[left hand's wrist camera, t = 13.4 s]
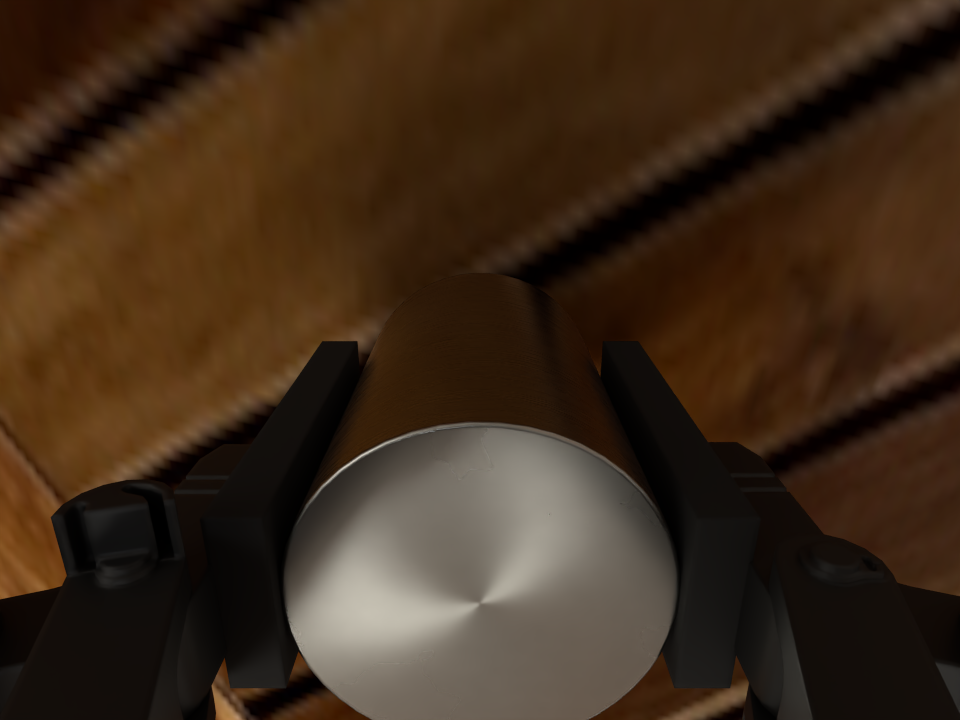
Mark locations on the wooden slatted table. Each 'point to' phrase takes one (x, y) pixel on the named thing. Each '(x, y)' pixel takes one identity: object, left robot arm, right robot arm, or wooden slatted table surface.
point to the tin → (480, 523)
